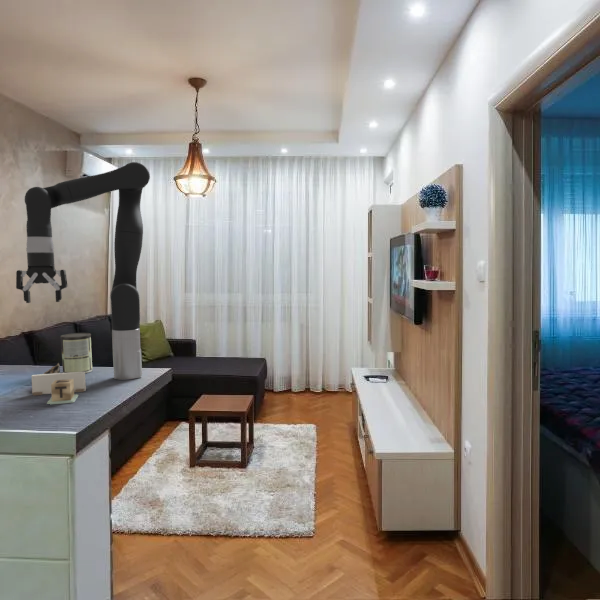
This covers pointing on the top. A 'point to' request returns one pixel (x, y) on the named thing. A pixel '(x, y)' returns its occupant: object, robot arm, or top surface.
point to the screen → (44, 381)
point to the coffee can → (76, 352)
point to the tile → (63, 400)
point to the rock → (53, 370)
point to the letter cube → (62, 390)
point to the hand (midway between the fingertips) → (43, 302)
